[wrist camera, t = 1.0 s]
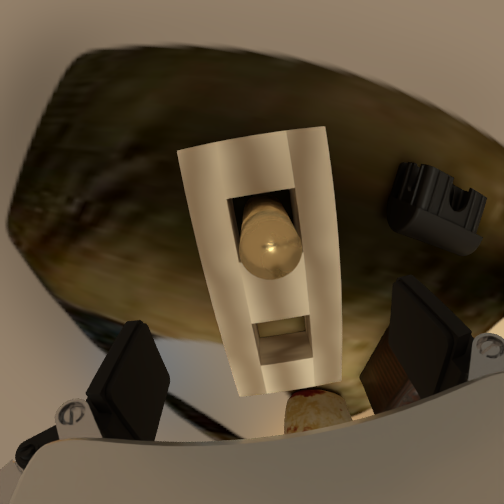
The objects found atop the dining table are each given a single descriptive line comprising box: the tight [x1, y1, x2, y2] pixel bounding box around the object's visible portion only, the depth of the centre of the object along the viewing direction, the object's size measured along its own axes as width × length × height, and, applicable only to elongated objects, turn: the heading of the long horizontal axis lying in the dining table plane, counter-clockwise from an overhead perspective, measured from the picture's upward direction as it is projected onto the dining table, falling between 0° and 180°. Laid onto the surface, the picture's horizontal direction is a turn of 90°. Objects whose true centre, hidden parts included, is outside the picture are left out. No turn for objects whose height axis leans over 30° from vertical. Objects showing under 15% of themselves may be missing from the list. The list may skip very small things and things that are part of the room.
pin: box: [239, 193, 302, 280], centre depth 24 cm, size 4×4×11 cm
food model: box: [284, 390, 353, 434], centre depth 29 cm, size 10×7×20 cm
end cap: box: [387, 162, 487, 256], centre depth 25 cm, size 10×7×7 cm
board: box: [177, 126, 342, 397], centre depth 28 cm, size 12×27×5 cm, turn 10°
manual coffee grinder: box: [360, 325, 421, 415], centre depth 26 cm, size 16×11×18 cm
